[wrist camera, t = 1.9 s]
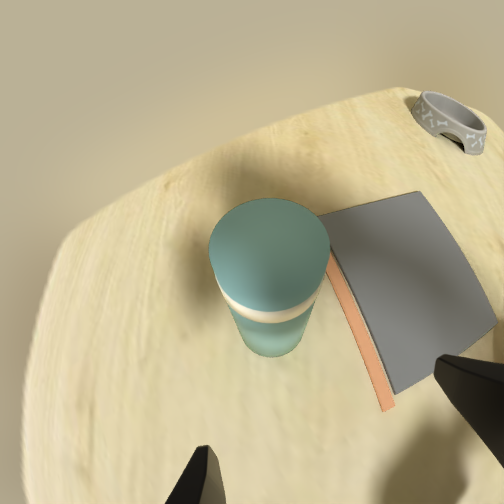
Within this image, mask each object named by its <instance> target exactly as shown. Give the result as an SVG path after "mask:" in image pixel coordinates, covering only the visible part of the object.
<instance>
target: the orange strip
mask: <svg viewBox="0 0 504 504" xmlns="http://www.w3.org/2000/svg"><path fill="white" fill-rule="evenodd" d="M326 273H327V275H328V277H329V279H330V281H331V284H332V286H333V288H334V290H335V292H336V295H337V297H338V299H339V302H340V304H341V306H342V308H343V311H344V313H345V316H346V318H347V320H348V323H349V325H350V327H351V330H352V332H353V335H354V337H355V340H356V342H357V345H358V347H359V350H360V352H361V355H362V357H363V360H364V362H365V365H366V368H367V370H368V373H369V376H370V378H371V381H372V384H373V386H374V389H375V392H376V395H377V397H378V400H379V403H380V406H381V409H382V412H385V411H386V410H388V409H390V408H392V407H394V406H395V403H394V400H393V398H392V395H391V392H390V389H389V386H388V384H387V381H386V378H385V376H384V373H383V370H382V368H381V365H380V363H379V360H378V357H377V355H376V352H375V350H374V347H373V345H372V343H371V340H370V338H369V335H368V333H367V331H366V328H365V326H364V324H363V321H362V319H361V317H360V314H359V312H358V310H357V308H356V305H355V303H354V301H353V299H352V296H351V294H350V292H349V290H348V288H347V286H346V283H345V281H344V279H343V277H342V275H341V273H340V271H339V269H338V267H337V265H336V263H335V260H334V258H333V256H332V254H331V252H330V257H329V261H328V264H327V267H326Z"/></svg>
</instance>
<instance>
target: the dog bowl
mask: <svg viewBox="0 0 504 504" xmlns="http://www.w3.org/2000/svg"><path fill="white" fill-rule="evenodd" d="M411 113H412V116H413V118H414V119H415V120H416V122H417V123H418V124H419V125H420V126H421V127H422V128H423V129H425V130H426V131H427V132H428V133H430V134H431V135H432V136H434V137H436V136H437V135H438V134H440V133H442V134H443V135H445V136H447V137H448V138H450V139H452V140H454V141H457V142H459V143H462V144H463V145H464V149H465V153H466V154H469V155H480V154H482V153H483V150H484V143H485V138H486V133H487V128H486V126H485V124H484V122H483V121H482V120H481V119H480V118H479V117H478V116H477V115H476V114H475V113H474V112H473V111H472V110H470V109H469V108H468V107H466V106H465V105H463V104H461V103H460V102H458V101H456V100H455V99H453V98H450V97H448V96H446V95H443V94H441V93H437V92H433V91H424V92H422V93H421V95H420V97H419V98H418V100H417V102H416V104H415V105H414V107H413V108H412V110H411Z"/></svg>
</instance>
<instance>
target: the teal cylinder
mask: <svg viewBox="0 0 504 504" xmlns="http://www.w3.org/2000/svg"><path fill="white" fill-rule="evenodd" d="M329 257H330V241H329V236H328V234H327V231H326V229H325V227H324V225H323V224H322V222H321V221H320V220H319V218H318V217H317V216H316V215H315V214H313V213H312V212H311V211H310V210H308V209H307V208H305V207H303V206H301V205H299V204H297V203H295V202H292V201H288V200H284V199H277V198H264V199H257V200H253V201H249V202H246V203H243V204H241V205H239V206H237V207H235V208H234V209H232V210H231V211H229V212H228V213H227V214H226V215H224V216H223V217H222V219H221V220H220V221H219V222H218V223H217V225H216V226H215V228H214V230H213V232H212V235H211V237H210V242H209V258H210V262H211V265H212V268H213V270H214V274H215V277H216V280H217V283H218V285H219V287H220V290H221V292H222V294H223V297H224V298H225V300H226V302H227V304H228V306H229V309H230V311H231V313H232V316H233V318H234V320H235V323H236V325H237V327H238V329H239V332H240V334H241V336H242V339H243V341H244V342H245V344H246V345H247V347H248V348H249V349H251V350H252V351H253V352H255V353H256V354H258V355H261V356H265V357H278V356H282V355H285V354H287V353H289V352H290V351H292V350H293V349H294V348H295V347H296V346H297V345H298V343H299V342H300V340H301V338H302V335H303V333H304V330H305V327H306V325H307V322H308V319H309V317H310V314H311V311H312V308H313V306H314V303H315V300H316V298H317V296H318V293H319V291H320V288H321V285H322V283H323V280H324V276H325V273H326V267H327V264H328V261H329Z"/></svg>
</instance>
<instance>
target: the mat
mask: <svg viewBox="0 0 504 504" xmlns="http://www.w3.org/2000/svg"><path fill="white" fill-rule="evenodd" d="M317 217H318V218H319V220H320V221H321V222H322V224H323V225H324V227H325V229H326V231H327V234H328V236H329V241H330V247H331V249H332V251H333V253H334V255H335V257H336V259H337V261H338V263H339V265H340V267H341V269H342V271H343V274H344V276H345V278H346V280H347V282H348V284H349V286H350V288H351V290H352V293H353V295H354V297H355V299H356V301H357V304H358V306H359V308H360V310H361V313H362V315H363V317H364V319H365V322H366V324H367V326H368V329H369V331H370V333H371V336H372V338H373V341H374V343H375V345H376V348H377V350H378V353H379V355H380V358H381V360H382V363H383V365H384V368H385V371H386V373H387V376H388V379H389V381H390V384H391V387H392V390H393V392H394V395H396V394H398V393H400V392H402V391H403V390H405V389H407V388H409V387H410V386H412V385H414V384H416V383H417V382H419V381H421V380H422V379H424V378H425V377H427V376H429V375H430V374H432V373H433V372H434V367H435V361H436V359H437V358H438V357H439V356H441V355H443V354H449V355H454V356H458V355H459V354H461V353H462V352H463V351H465V350H466V349H467V348H468V347H470V346H471V345H472V344H474V343H475V342H476V341H477V340H479V339H480V338H481V337H482V336H483V335H485V334H486V333H487V332H488V331H489V330H490V329H492V328H493V327H494V326H495V325H496V324H497V323H498V321H497V319H496V316H495V314H494V312H493V309H492V307H491V305H490V303H489V301H488V299H487V297H486V295H485V292H484V290H483V288H482V287H481V285H480V283H479V281H478V279H477V277H476V275H475V273H474V271H473V270H472V268H471V266H470V264H469V263H468V261H467V259H466V257H465V256H464V254H463V252H462V251H461V249H460V247H459V246H458V244H457V243H456V241H455V239H454V238H453V236H452V235H451V233H450V232H449V230H448V229H447V227H446V226H445V224H444V223H443V221H442V220H441V219H440V217H439V216H438V214H437V213H436V212H435V210H434V209H433V207H432V206H431V205H430V203H429V202H428V201H427V199H426V198H425V197H424V196H423V194H422V193H421V192H420V191H419V192H414V193H410V194H406V195H402V196H397V197H393V198H389V199H385V200H381V201H377V202H373V203H368V204H364V205H360V206H356V207H352V208H348V209H344V210H340V211H336V212H332V213H328V214H325V215H321V216H317Z"/></svg>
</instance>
